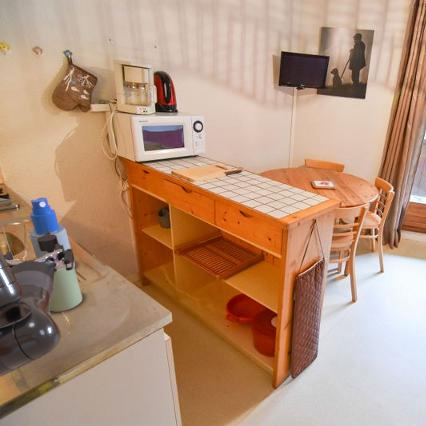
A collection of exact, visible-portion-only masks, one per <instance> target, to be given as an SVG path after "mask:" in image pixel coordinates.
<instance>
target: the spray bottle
mask: <svg viewBox="0 0 426 426" xmlns="http://www.w3.org/2000/svg"><path fill="white" fill-rule="evenodd" d="M30 203H31V206H32V207H31V211H32V212H30V214H29V217H30V220H31V223H32V226H33V229H32V230H31V231H30V232H29V238H30V241H31V246H32V248H33V252H34V254H35V259H38V258H40V257H43V256H44V255H46V254H48V252H47V251H40V248H39V245H38V242H37V239H38V238H39V237H41V236H44V235H46V231H50V232H51V234H50V235H56V236H57V240H58V244H60V245H63V247H64V250H65V251H66V250H67V249H72V248H71V244H70V241H69V237H68V232H67V229H66V228H65V226H64V225H62V224H59V221H58V218H57V213H56V210H55V209H52V207H51V205H50V204H49V201H48V198H47V197H38V198H37V199H31V200H30ZM54 252H55V250H54ZM52 253H53V252H52ZM75 263H76V262H74V267H75V268H76V266H75V265H76V264H75Z"/></svg>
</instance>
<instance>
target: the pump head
mask: <svg viewBox="0 0 426 426" xmlns="http://www.w3.org/2000/svg"><path fill="white" fill-rule="evenodd" d="M50 234H51V232H50V231H46V235H44V236H41V237H39V238H38V239H37V242H38V245H39V248H40V251H47V252H48V253H52V252H54V250H55V245H56V244H58V240H57V236H56V235H50Z"/></svg>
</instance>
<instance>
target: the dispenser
mask: <svg viewBox="0 0 426 426" xmlns="http://www.w3.org/2000/svg"><path fill="white" fill-rule="evenodd" d="M56 258H57V256H56ZM48 260H49V259H48ZM53 286H54V290H53V293H52V297H51V299H50V312H53V313H60V312H65V311H68V310H71V309H73V308H75V307H77V306H78V305H79V304H81V302H82V301H83V294H82V291H81V286H80V283H79V279H78V275H77V271H76V266H75V267H74V264H73V269H72V270H69V271H67V270H66V268H62V269H57V271H56V272H55V273H54V282H53Z"/></svg>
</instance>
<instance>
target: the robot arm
mask: <svg viewBox="0 0 426 426" xmlns="http://www.w3.org/2000/svg"><path fill="white" fill-rule="evenodd" d="M73 251H74V250H73V249H72V248H71V249H67V250H66V251H65V250H64V247H63V245H60V244H56V245H55V252H53V253H48V254H46V255H44V256H43V257H41V258H38V259H37V258H35V259H29V260H23V261H18V260H15V257H14V255H13V253H12V251H6V254H3V252H2V250H1V249H0V378H1V377H4V376H5V375H8V374H10V373H12V372H14V371H16V370H18V369H20V368H22V367H24V366H26V365H29V364H30V363H32V362H34V361H36V360H38V359H40V358H42V357H45V356H47V355H48V354H50V353H52V352H53V351H54V350H55V349H57V346H59V343H60V341H61V339H62V332H61V329H60V327H59V325H58V323H57V322H56V320H55V318H54V317H53V315H52V313H51V311H50V299H51V297H52V293H53V290H54V286H53V282H54V273H55V272H56V271H57V269H62V268H66V270H67V271H69V270H72V269H73V264H74V263H75V255H74V252H73ZM56 256H57V258H56ZM48 259H49V260H48Z"/></svg>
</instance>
